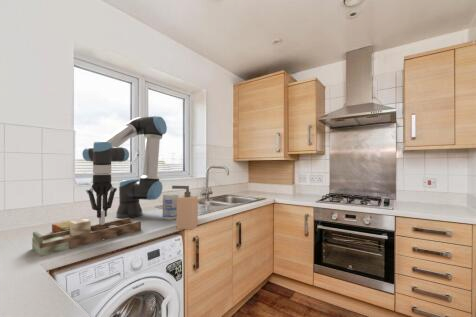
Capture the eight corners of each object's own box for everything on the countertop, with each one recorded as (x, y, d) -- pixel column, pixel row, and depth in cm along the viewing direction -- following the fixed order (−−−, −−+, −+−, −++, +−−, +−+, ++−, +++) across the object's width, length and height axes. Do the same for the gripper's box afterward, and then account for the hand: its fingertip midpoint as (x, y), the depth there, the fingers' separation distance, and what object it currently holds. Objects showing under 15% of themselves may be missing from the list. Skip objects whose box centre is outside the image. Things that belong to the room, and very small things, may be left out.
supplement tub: (165, 221, 135) (165, 195, 135) (160, 217, 143) (160, 193, 143) (181, 218, 141) (181, 194, 141) (175, 215, 149) (175, 192, 149)
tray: (129, 225, 125) (129, 213, 125) (140, 230, 118) (140, 216, 118) (32, 248, 94) (32, 231, 94) (40, 256, 86) (40, 237, 86)
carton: (70, 228, 122) (70, 220, 122) (85, 234, 113) (85, 225, 113) (51, 232, 115) (51, 224, 115) (65, 238, 106) (65, 229, 106)
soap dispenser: (197, 225, 127) (197, 185, 127) (192, 229, 118) (192, 187, 118) (175, 224, 129) (175, 184, 129) (169, 228, 120) (169, 186, 120)
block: (85, 231, 106) (85, 218, 106) (90, 234, 102) (90, 220, 102) (69, 235, 101) (69, 221, 101) (74, 237, 98) (74, 223, 98)
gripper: (112, 173, 116) (112, 220, 116) (83, 174, 106) (83, 225, 106) (120, 173, 112) (119, 222, 112) (90, 175, 101) (89, 228, 101)
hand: (101, 224), depth 109 cm, fingers closed
